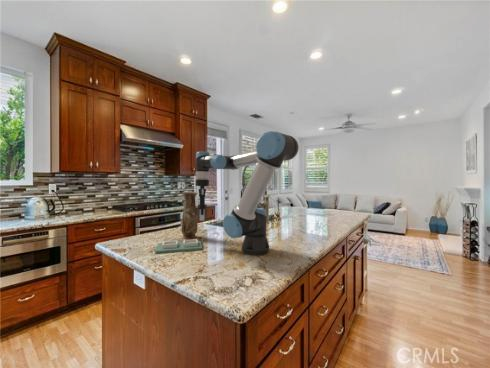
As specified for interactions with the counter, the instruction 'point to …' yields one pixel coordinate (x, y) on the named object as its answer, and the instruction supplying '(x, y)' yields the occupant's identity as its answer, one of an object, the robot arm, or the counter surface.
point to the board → (178, 246)
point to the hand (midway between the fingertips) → (201, 219)
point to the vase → (189, 216)
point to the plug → (199, 213)
